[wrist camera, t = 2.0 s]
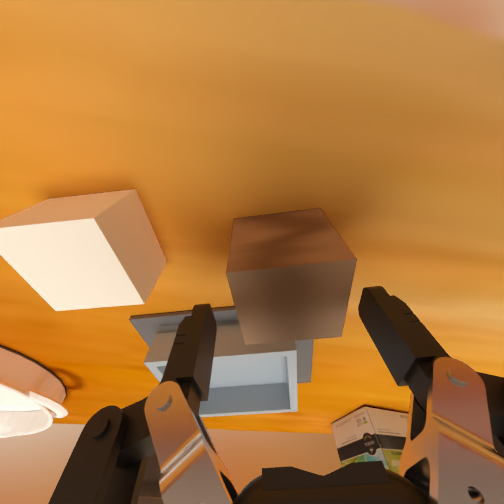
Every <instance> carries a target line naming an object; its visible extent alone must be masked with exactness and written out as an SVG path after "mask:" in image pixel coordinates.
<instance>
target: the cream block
mask: <svg viewBox="0 0 504 504" xmlns="http://www.w3.org/2000/svg"><path fill="white" fill-rule="evenodd" d="M0 255H1V256H2V257H3V258H4V259H5V260H6V261H7V262H8V263H9V264H10V265H11V266H12V267H13V268H14V269H15V270H16V271H17V272H18V273H19V274H20V275H21V276H22V277H23V278H24V279H25V280H26V281H27V282H28V283H29V284H30V285H31V286H32V287H33V288H34V289H35V290H36V291H37V292H38V293H39V294H40V295H41V297H42V298H43V299H44V300H45V301H46V302H47V303H48V304H49V305H50V306H51V307H52V308H53V309H54V310H55V311H62V310H74V309H87V308H99V307H111V306H124V305H136V304H145V302H146V300H147V298H148V297H149V295H150V293H151V291H152V289H153V287H154V285H155V284H156V282H157V280H158V278H159V276H160V274H161V273H162V271H163V269H164V267H165V265H166V263H167V261H166V258H165V256H164V254H163V251H162V249H161V247H160V244H159V242H158V240H157V237H156V235H155V233H154V230H153V228H152V226H151V223H150V221H149V219H148V216H147V214H146V212H145V209H144V207H143V205H142V202H141V200H140V198H139V195H138V193H137V191H136V189H131V190H122V191H113V192H104V193H95V194H86V195H77V196H69V197H60V198H51V199H47V200H44V201H42V202H40V203H38V204H35V205H33V206H31V207H29V208H26V209H24V210H22V211H19V212H17V213H15V214H13V215H10V216H8V217H6V218H4V219H1V220H0Z"/></svg>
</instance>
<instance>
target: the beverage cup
mask: <svg viewBox="0 0 504 504" xmlns="http://www.w3.org/2000/svg"><path fill="white" fill-rule="evenodd" d="M160 476H161V470H160V465H159V462H158V459H157V455H156V453H154V454H153V455H151V456H149V457H148V461H147V465H146V469H145V473H144V477H143V482H142V486H141V490H140V494H139V498H138V503H137V504H164V503H163V500H162V496H161V492H160V486H159V478H160Z"/></svg>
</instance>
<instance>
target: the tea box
mask: <svg viewBox="0 0 504 504" xmlns="http://www.w3.org/2000/svg"><path fill="white" fill-rule="evenodd" d="M408 416H409V414H407V413H401V412H394V411H388V410H382V409H376V408H371V407H362V408H360V409H358V410H356V411H354V412H352V413H350V414H348V415H347V416H345V417H343V418H341V419H339V420H338V421H336V422H334V423H333V424H332V430H333V434H334V438H335V442H336V446H337V450H338V454H339V458H340V461H341V465H342V467H344V466H346V465H348V464H350V463H352V462H367V461H382V462H383V464H384V467H385V469H389V470H391V471H393V472H395V473H397V474H399V465H400V459H401V455H402V451H403V449H404V446H405V442H406V436H407V426H408Z"/></svg>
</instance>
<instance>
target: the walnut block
mask: <svg viewBox="0 0 504 504" xmlns="http://www.w3.org/2000/svg"><path fill="white" fill-rule="evenodd" d="M356 261H357V259H356V257H355V256H354V255H353V253H352V252H351V250H350V249H349V248H348V246H347V245H346V243H345V242H344V241H343V239H342V238H341V236H340V235H339V234H338V232H337V231H336V230H335V228H334V227H333V225H332V224H331V223H330V221H329V220H328V218H327V217H326V216H325V214H324V213H323V212H322V210H321V209H320V208H315V209H307V210H299V211H291V212H283V213H275V214H267V215H259V216H251V217H243V218H235V219H234V223H233V230H232V236H231V243H230V250H229V257H228V264H227V271H226V274H227V278H228V282H229V286H230V289H231V293H232V297H233V301H234V305H235V308H236V312H237V316H238V320H239V323H240V327H241V331H242V335H243V339H244V342H245V345H249V344H261V343H273V342H285V341H297V340H309V339H321V338H333V337H342V332H343V327H344V322H345V317H346V312H347V307H348V301H349V296H350V291H351V286H352V281H353V276H354V271H355V266H356Z"/></svg>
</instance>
